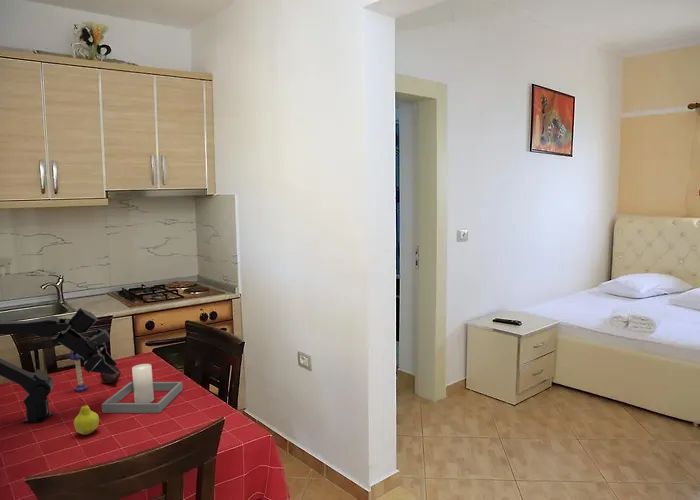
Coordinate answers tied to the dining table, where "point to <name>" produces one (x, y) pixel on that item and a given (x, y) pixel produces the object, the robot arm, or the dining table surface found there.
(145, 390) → the white pillar candle
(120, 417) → the dining table surface
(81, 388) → the toy lamp
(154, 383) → the frame
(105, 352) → the robot arm
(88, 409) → the fruit
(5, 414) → the dining table surface
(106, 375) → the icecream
